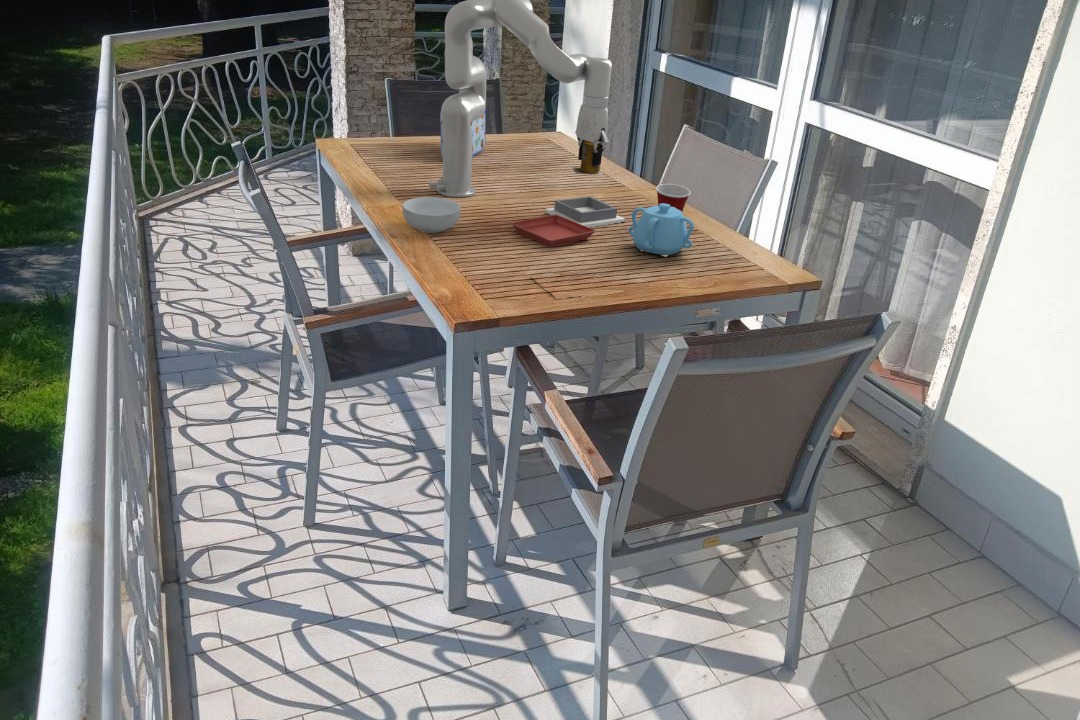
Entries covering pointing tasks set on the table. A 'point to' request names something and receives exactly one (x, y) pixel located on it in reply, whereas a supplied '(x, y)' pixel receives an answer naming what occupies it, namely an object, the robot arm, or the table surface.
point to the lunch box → (477, 134)
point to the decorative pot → (661, 230)
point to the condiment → (587, 161)
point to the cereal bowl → (431, 213)
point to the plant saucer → (553, 230)
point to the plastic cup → (672, 195)
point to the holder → (586, 211)
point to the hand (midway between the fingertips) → (589, 161)
